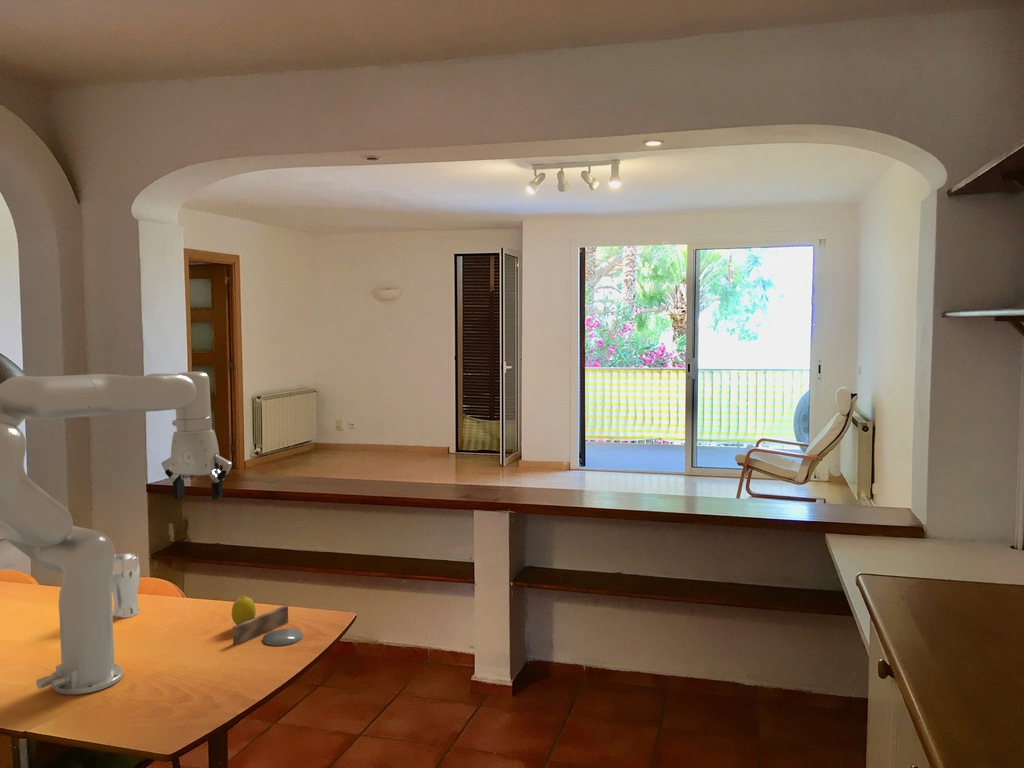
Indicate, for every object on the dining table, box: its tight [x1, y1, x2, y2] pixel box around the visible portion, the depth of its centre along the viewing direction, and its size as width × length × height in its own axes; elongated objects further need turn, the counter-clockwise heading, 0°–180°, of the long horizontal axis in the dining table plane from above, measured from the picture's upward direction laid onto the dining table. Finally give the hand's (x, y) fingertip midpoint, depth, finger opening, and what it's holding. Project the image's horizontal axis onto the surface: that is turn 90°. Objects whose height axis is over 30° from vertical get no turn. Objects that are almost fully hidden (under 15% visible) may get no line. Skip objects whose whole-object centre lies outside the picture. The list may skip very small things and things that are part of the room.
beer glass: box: [112, 552, 141, 619], centre depth 196 cm, size 7×7×15 cm
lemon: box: [231, 595, 257, 626], centre depth 187 cm, size 6×6×8 cm
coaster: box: [262, 628, 304, 647], centre depth 181 cm, size 9×9×1 cm
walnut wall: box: [232, 605, 289, 646], centre depth 184 cm, size 16×1×4 cm, turn 151°
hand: (198, 497), depth 179 cm, fingers open, 9 cm apart
